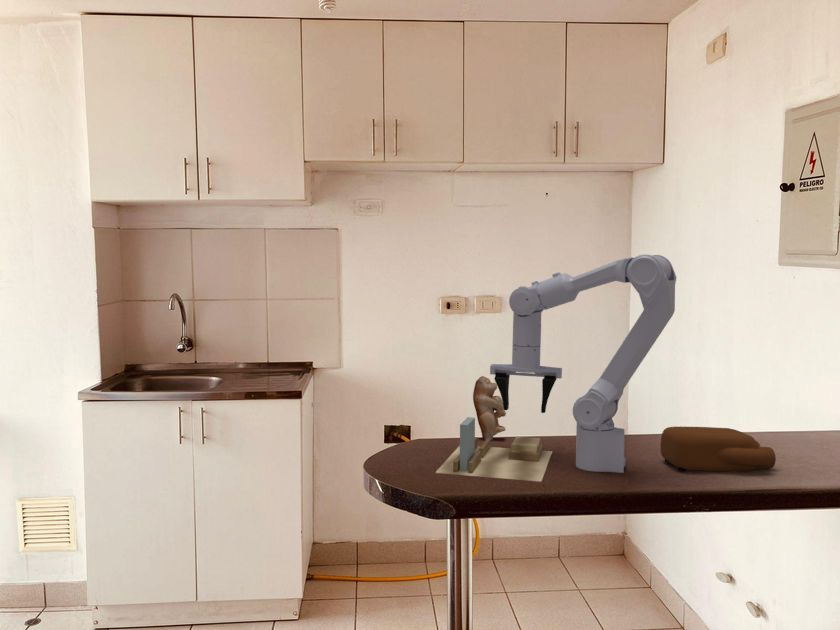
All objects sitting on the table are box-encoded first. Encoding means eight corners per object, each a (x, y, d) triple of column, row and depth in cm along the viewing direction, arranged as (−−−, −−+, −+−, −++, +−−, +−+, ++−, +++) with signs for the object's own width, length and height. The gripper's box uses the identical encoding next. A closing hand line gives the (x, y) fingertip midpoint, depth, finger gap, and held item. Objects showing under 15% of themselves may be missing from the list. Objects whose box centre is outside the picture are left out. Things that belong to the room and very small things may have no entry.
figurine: (504, 446, 159) (505, 379, 158) (470, 444, 161) (471, 378, 160) (506, 439, 166) (507, 375, 165) (474, 438, 167) (474, 374, 166)
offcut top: (539, 445, 151) (539, 438, 150) (536, 453, 144) (536, 446, 144) (516, 443, 152) (516, 436, 152) (511, 451, 145) (511, 444, 145)
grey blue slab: (474, 461, 143) (474, 417, 143) (467, 471, 136) (467, 425, 136) (467, 461, 144) (467, 417, 143) (459, 470, 137) (460, 424, 136)
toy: (742, 460, 153) (651, 457, 151) (745, 425, 152) (654, 421, 151) (782, 481, 138) (682, 478, 136) (785, 441, 138) (685, 438, 136)
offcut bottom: (542, 451, 151) (542, 444, 151) (538, 461, 143) (538, 454, 143) (514, 449, 153) (514, 442, 153) (508, 459, 145) (508, 452, 145)
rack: (552, 456, 152) (552, 442, 151) (541, 486, 130) (541, 470, 130) (460, 449, 157) (460, 435, 157) (435, 477, 136) (435, 462, 136)
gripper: (563, 344, 148) (561, 409, 149) (494, 341, 152) (493, 404, 153) (561, 348, 142) (559, 416, 143) (488, 345, 145) (487, 410, 147)
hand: (524, 410), depth 148 cm, fingers open, 7 cm apart
